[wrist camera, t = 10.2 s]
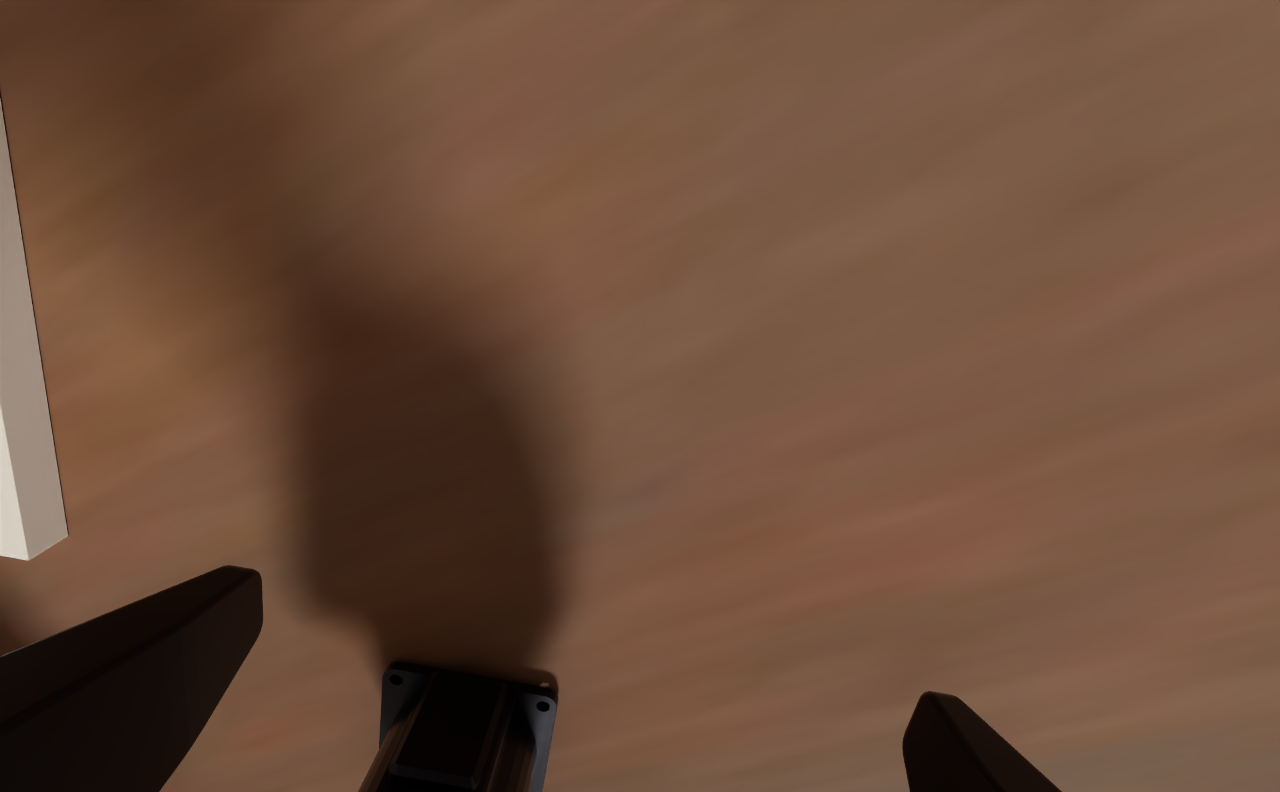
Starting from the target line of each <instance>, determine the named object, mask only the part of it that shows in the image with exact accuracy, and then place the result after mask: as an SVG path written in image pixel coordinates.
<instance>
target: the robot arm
mask: <svg viewBox="0 0 1280 792" xmlns="http://www.w3.org/2000/svg"><path fill="white" fill-rule="evenodd" d="M262 624H263V600H262V579H261V575H260V573H259V572H258V571H256V570H254V569H249V568H243V567H238V566H231V565H227V566H223V567H220V568H217V569H215V570H212V571H210V572H208V573H205V574H203V575H200V576H198V577H195V578H193V579H190V580H188V581H185V582H183V583H180V584H178V585H175V586H173V587H170V588H168V589H165V590H163V591H160V592H158V593H156V594H153V595H151V596H148V597H146V598H143V599H141V600H138V601H136V602H133V603H131V604H128V605H126V606H123V607H121V608H118V609H116V610H113V611H111V612H109V613H106V614H104V615H101V616H99V617H96V618H94V619H91V620H89V621H86V622H84V623H81V624H79V625H76V626H74V627H71V628H69V629H66V630H64V631H61V632H59V633H57V634H54V635H52V636H49V637H47V638H44V639H42V640H39V641H37V642H34V643H32V644H29V645H27V646H24V647H22V648H19V649H17V650H14V651H12V652H9V653H7V654H4V655H2V656H0V792H159V791H160V790H161V788H162V787H163V786H164V784H165V783H166V782H167V780H168V779H169V777H170V776H171V775H172V773H173V772H174V771H175V769H176V768H177V767H178V765H179V764H180V762H181V761H182V760H183V758H184V757H185V755H186V754H187V753H188V751H189V750H190V748H191V747H192V745H193V744H194V742H195V741H196V739H197V737H198V736H199V734H200V733H201V731H202V730H203V728H204V726H205V725H206V723H207V721H208V720H209V718H210V716H211V715H212V713H213V711H214V710H215V708H216V706H217V705H218V703H219V701H220V700H221V698H222V696H223V695H224V693H225V691H226V690H227V688H228V686H229V685H230V683H231V681H232V680H233V678H234V676H235V675H236V673H237V671H238V670H239V668H240V666H241V665H242V663H243V662H244V660H245V658H246V657H247V655H248V653H249V652H250V650H251V648H252V647H253V645H254V643H255V642H256V640H257V638H258V636H259V634H260V631H261V628H262ZM396 675H399V676H401V677H398V676H396ZM541 701H545V702H547V703H542V702H541ZM557 705H558V696H557V694H556V693H555V692H554V691H553V690H551V689H548V688H544V687H539V686H533V685H528V684H522V683H517V682H511V681H506V680H500V679H495V678H489V677H484V676H478V675H473V674H467V673H462V672H456V671H451V670H445V669H440V668H434V667H429V666H423V665H418V664H412V663H406V662H400V661H396V662H393V663H391V664H390V665H389V666H388V667H387V669H386V671H385V673H384V675H383V682H382V702H381V721H380V741H379V751H378V753H377V755H376V757H375V759H374V761H373V763H372V765H371V767H370V769H369V771H368V773H367V775H366V777H365V779H364V781H363V783H362V785H361V787H360V789H359V791H358V792H542V790H543V784H544V778H545V773H546V767H547V761H548V756H549V750H550V744H551V739H552V733H553V727H554V722H555V716H556V711H557ZM902 747H903V757H904V763H905V768H906V773H907V779H908V784H909V789H910V792H1062V791H1061V790H1059V789H1058V788H1057V787H1056V786H1055V785H1054V784H1053V783H1052V782H1051V781H1050V780H1049V779H1047V778H1046V777H1045V776H1044V775H1043V774H1042V773H1041V772H1040V771H1039V770H1038V769H1036V768H1035V767H1034V766H1033V765H1032V764H1031V763H1030V762H1029V761H1028V760H1027V759H1025V758H1024V757H1023V756H1022V755H1021V754H1020V753H1019V752H1018V751H1017V750H1016V749H1014V748H1013V747H1012V746H1011V745H1010V744H1009V743H1008V742H1007V741H1006V740H1005V739H1003V738H1002V737H1001V736H1000V735H999V734H998V733H997V732H996V731H995V730H994V729H993V728H991V727H990V726H989V725H988V724H987V723H986V722H985V721H984V720H983V719H982V718H980V717H979V716H978V715H977V714H976V713H975V712H974V711H973V710H972V709H971V708H969V707H968V706H967V705H966V704H965V703H964V702H963V701H962V700H960V699H959V698H958V697H956V696H953V695H949V694H944V693H938V692H932V691H928V692H925V693H923V694H922V695H921V697H920V699H919V701H918V703H917V705H916V708H915V710H914V712H913V715H912V717H911V719H910V722H909V724H908V726H907V729H906V731H905V734H904V737H903V746H902Z"/></svg>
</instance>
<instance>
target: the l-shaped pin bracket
mask: <svg viewBox="0 0 1280 792" xmlns="http://www.w3.org/2000/svg"><path fill="white" fill-rule="evenodd" d="M66 537H68V532H67V526H66V519H65V513H64V506H63V500H62V493H61V487H60V480H59V474H58V468H57V461H56V455H55V448H54V442H53V435H52V429H51V422H50V416H49V409H48V403H47V397H46V390H45V384H44V377H43V371H42V364H41V358H40V351H39V345H38V338H37V332H36V325H35V319H34V313H33V306H32V300H31V293H30V287H29V280H28V274H27V267H26V261H25V254H24V248H23V242H22V235H21V229H20V222H19V216H18V209H17V203H16V196H15V190H14V183H13V177H12V171H11V164H10V158H9V151H8V145H7V138H6V132H5V125H4V119H3V112H2V106H1V100H0V556H6V557H11V558H17V559H22V560H28V561H29V560H31V559H32V558H34V557H36V556H37V555H39V554H40V553H42V552H44V551H45V550H47V549H48V548H50V547H52V546H53V545H55V544H56V543H58V542H60V541H61V540H63V539H64V538H66Z"/></svg>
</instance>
